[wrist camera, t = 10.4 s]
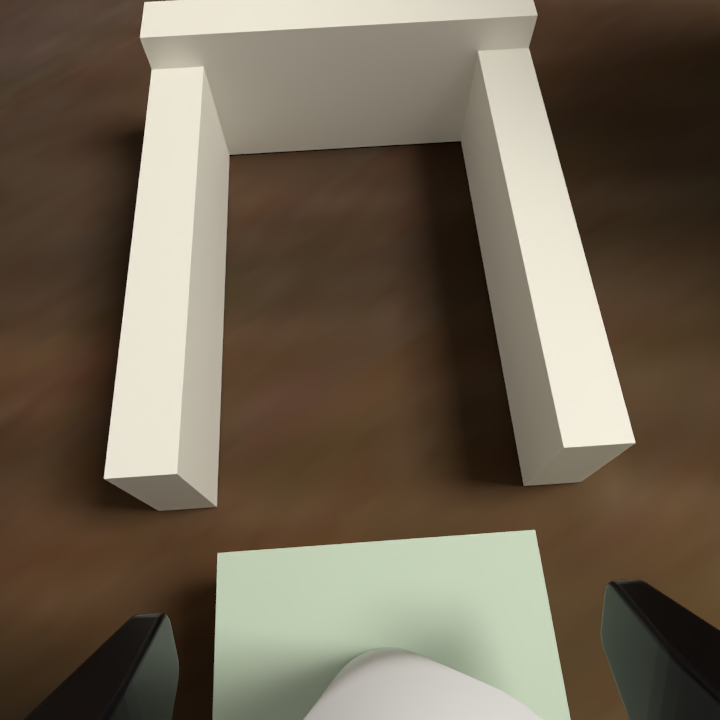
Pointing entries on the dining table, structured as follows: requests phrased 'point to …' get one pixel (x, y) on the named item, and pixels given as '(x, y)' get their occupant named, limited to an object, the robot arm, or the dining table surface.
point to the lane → (347, 130)
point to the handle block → (387, 632)
